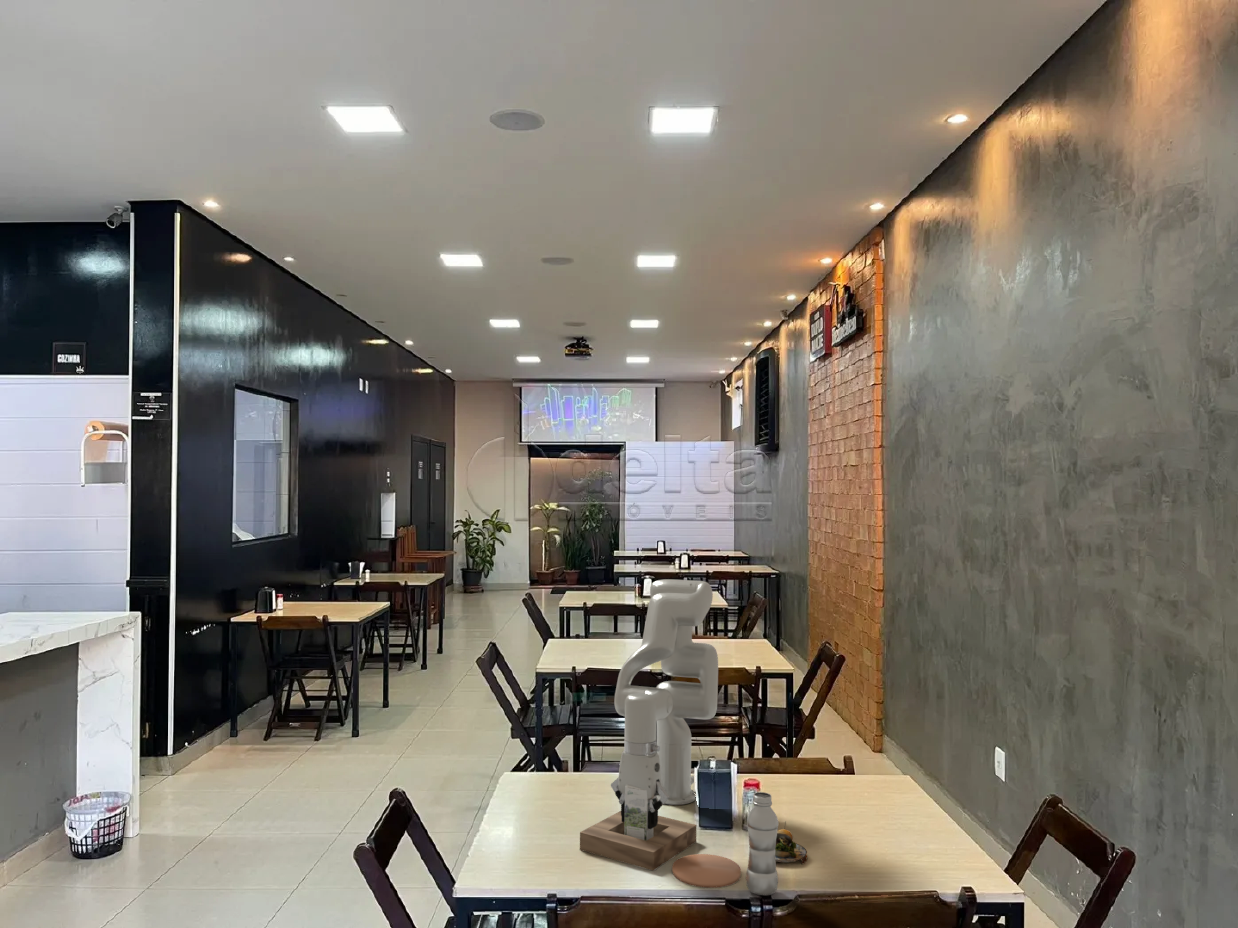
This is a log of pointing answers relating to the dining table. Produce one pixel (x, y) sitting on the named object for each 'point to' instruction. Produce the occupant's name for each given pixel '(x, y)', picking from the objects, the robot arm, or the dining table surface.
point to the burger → (788, 848)
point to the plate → (706, 870)
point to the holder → (638, 841)
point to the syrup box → (637, 813)
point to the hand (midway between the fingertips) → (639, 822)
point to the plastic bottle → (762, 846)
